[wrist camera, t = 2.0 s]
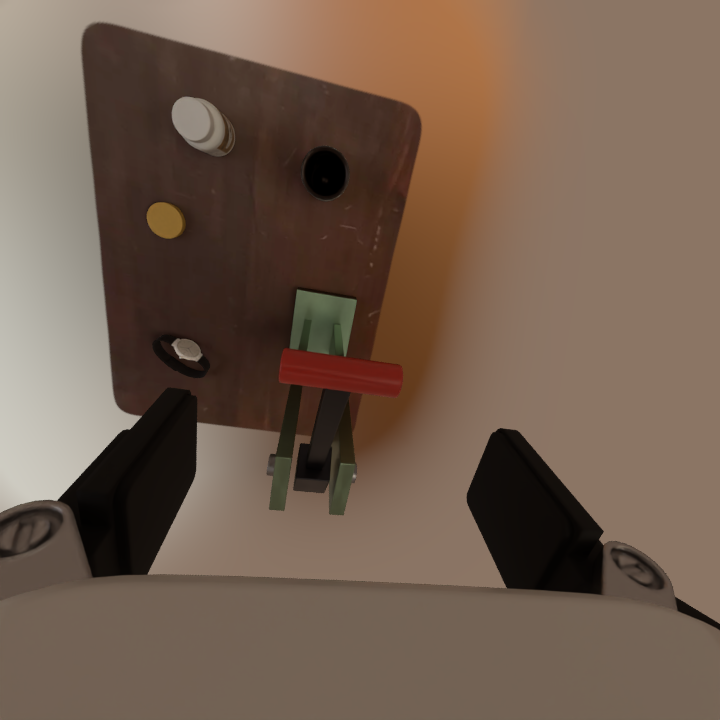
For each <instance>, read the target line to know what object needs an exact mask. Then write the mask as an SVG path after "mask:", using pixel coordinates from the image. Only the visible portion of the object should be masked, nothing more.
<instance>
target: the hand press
mask: <svg viewBox="0 0 720 720" xmlns="http://www.w3.org/2000/svg"><path fill="white" fill-rule="evenodd" d="M356 302H357V299H356V297H351V296H346V295H340V294H334V293H328V292H323V291H317V290H311V289H306V288H300V287H298V288H297V293H296V301H295V308H294V316H293V324H292V332H291V340H290V348H289V349H296V350H303V351H310V352H316V353H323V354H330V355H337V356H344V357H346V353H347V348H348V343H349V338H350V333H351V328H352V323H353V317H354V312H355V307H356ZM301 393H302V386H301V385H294V384H291V386H290V391H289V395H288V400H287V405H286V410H285V414H284V419H283V424H282V429H281V433H280V439H279V443H278V448H277V453H276V454H270V457H269V461H268V467H267V475H270V476H273V481H272V490H271V497H270V506H269V509H270V510H281V511H284V509H285V502H286V495H287V489H288V482H289V475H290V469H291V462H292V455H293V448H294V441H295V434H296V427H297V420H298V414H299V407H300V400H301ZM331 447H332V458H331V471H330V481H329V514H332V515H344V511H345V507H346V503H347V499H348V494H349V490H350V486H351V483H354V482H355V480H356V475H357V464H356V463H355V455H354V445H353V436H352V426H351V417H350V407H349V399H348V401H347V404H346V407H345V409H344V412H343V415H342V417H341V420H340V423H339V426H338V428H337V431H336V434H335V436H334V439H333V442H332V444H331Z"/></svg>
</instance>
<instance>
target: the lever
mask: <svg viewBox="0 0 720 720" xmlns="http://www.w3.org/2000/svg"><path fill="white" fill-rule="evenodd" d="M279 382H280V383H286V384H294V385H301V386H309V387H316V388H323V391H322V395H321V399H320V403H319V408H318V412H317V416H316V420H315V424H314V428H313V432H312V436H311V441H310V444H302V443H301V444H300V448H299V453H298V458H297V465H296V473H295V481H294V487H293V490H295V491H305V492H316V493H324V492H325V490H326V488H327V485H328V483H329V481H330V471H331V458H332V447H331V444H332V442H333V439H334V436H335V434H336V431H337V428H338V426H339V423H340V420H341V417H342V415H343V412H344V409H345V407H346V404H347V401H348V399H349V396H350V393H351V392H354V393H361V394H369V395H377V396H384V397H392V398H396V397H398V395H399V393H400V391H401V388H402V382H403V371H402V367H401V366H400V365H398V364H391V363H384V362H377V361H371V360H364V359H357V358H350V357H344V356H337V355H330V354H323V353H316V352H310V351H303V350H296V349H289V348H284V350H283V353H282V357H281V363H280V370H279Z"/></svg>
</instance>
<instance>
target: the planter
mask: <svg viewBox="0 0 720 720" xmlns="http://www.w3.org/2000/svg"><path fill="white" fill-rule="evenodd" d="M349 176H350V173H349V166H348V163H347V161H346V159H345V157H344V156H343V155H342V154H341V153H340V152H339V151H338V150H337V149H335V148H333V147H330V146H318V147H316V148H314V149H312V150H311V151H309V152H308V154H307V155H306V156H305V158H304V160H303V163H302V167H301V177H302V181H303V184H304V186H305V188H306V189H307V191H308V192H309V193H310V194H311V195H312V196H314V197H315V198H317V199H319V200H321V201H332V200H335V199H336V198H338V197H339V196H340V195H341V194H342V193H343V192H344V191H345V189H346V187H347V185H348V182H349Z"/></svg>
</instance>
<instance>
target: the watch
mask: <svg viewBox="0 0 720 720" xmlns="http://www.w3.org/2000/svg"><path fill="white" fill-rule="evenodd" d="M160 340H161V341H165V342H167V343H169V344H171V345H172V346H174V349H175V351H176V353H177V354H178V355H179V356H180V357H179V358H180V359H181V358H184V359H187V360H195V361H196V362H198V363H200V364H201V365H202V366H203V368H204V370H205V371H198V370H194V369H191V368H189V367H187V366H185V365H184V364H182V363H180V362H179V361H177V360H176V359H175V358H174V357H171V356H170V355H169V354H168V353H167V352H166V351H165V350H164V349H163V348H162V346H161V343H160ZM153 350H154V352H155V354H156V355H157V356H158V357H159V358H160V359H161V360H162V361H163V362H164V363H165V364H166V365H168V367H170V368H172V369H173V370H175V371H178V372H180V373H182V374H184V375H186V376H189V377H193V378H202V377H204V376H205V375H206V373H207V371H208V370H209V368H210V364H209V361H208V360H207V359H206V358H205V357H204V356H203V354H201V353H200V352H201V351H200V348H199V346H198V345H197V344H196V343H195V342H193V341H191V340H188V339H181V340H180V339H179V338H178V339H177V338H176V337H173V336H171V335H162V336H161V337H159V338H158V339H156V340H155V341H154V342H153Z"/></svg>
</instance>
